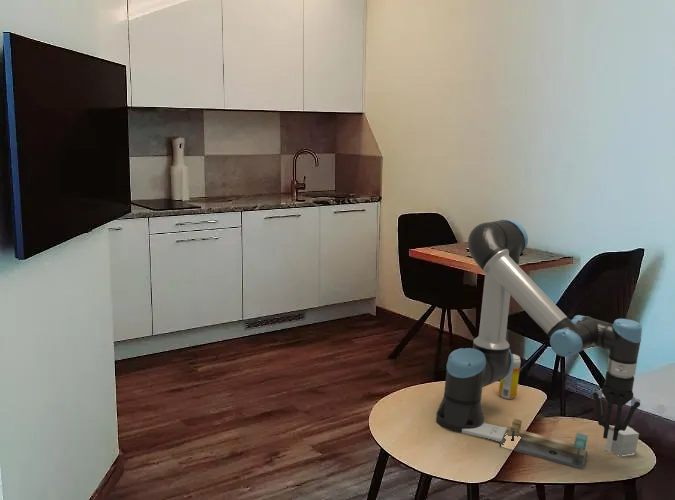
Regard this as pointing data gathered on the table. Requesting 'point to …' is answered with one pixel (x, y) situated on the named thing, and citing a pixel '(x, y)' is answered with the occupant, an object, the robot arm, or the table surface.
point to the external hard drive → (487, 431)
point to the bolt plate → (549, 453)
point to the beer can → (510, 381)
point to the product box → (625, 442)
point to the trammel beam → (540, 438)
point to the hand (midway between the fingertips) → (608, 449)
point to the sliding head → (580, 442)
